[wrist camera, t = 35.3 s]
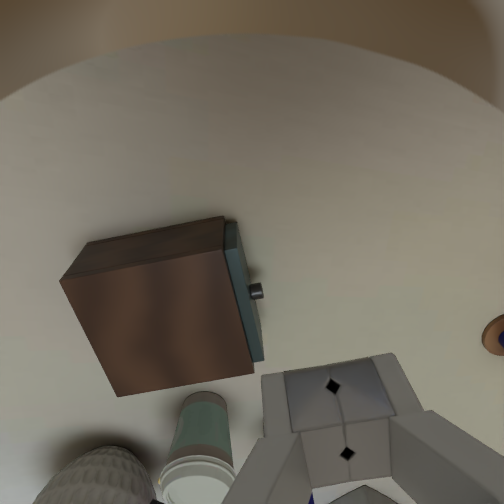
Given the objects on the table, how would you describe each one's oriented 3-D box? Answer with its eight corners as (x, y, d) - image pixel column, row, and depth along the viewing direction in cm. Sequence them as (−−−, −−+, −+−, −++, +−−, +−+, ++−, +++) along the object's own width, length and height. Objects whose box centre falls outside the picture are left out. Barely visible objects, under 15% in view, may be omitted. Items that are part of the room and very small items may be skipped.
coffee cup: (174, 381, 51) (158, 470, 40) (240, 386, 52) (242, 475, 41) (170, 426, 55) (155, 518, 44) (232, 430, 56) (231, 522, 45)
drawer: (248, 219, 40) (250, 245, 35) (271, 323, 46) (275, 358, 41) (108, 247, 41) (89, 276, 36) (148, 346, 47) (138, 383, 42)
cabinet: (224, 215, 41) (222, 249, 34) (251, 326, 47) (254, 373, 41) (87, 242, 41) (58, 280, 35) (133, 348, 48) (117, 397, 41)
